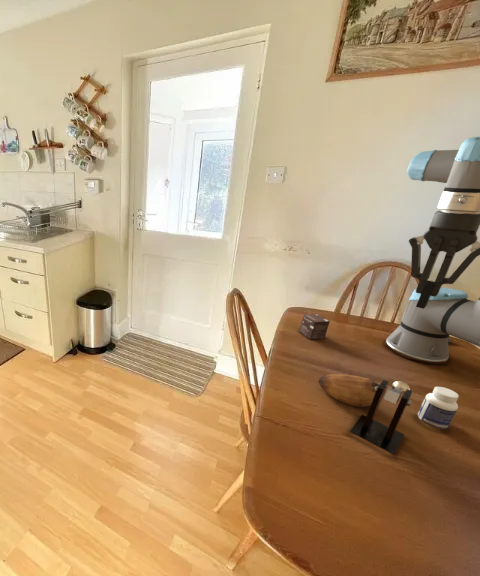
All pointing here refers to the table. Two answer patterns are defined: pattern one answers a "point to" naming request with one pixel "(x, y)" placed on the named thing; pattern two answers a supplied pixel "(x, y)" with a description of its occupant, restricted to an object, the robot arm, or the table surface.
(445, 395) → the pill bottle
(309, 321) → the box
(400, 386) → the hinged lever
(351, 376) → the potato
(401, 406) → the black lever stand
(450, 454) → the table surface
